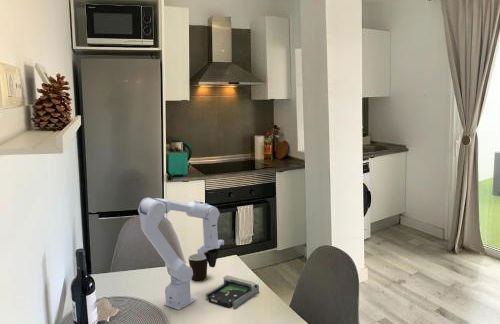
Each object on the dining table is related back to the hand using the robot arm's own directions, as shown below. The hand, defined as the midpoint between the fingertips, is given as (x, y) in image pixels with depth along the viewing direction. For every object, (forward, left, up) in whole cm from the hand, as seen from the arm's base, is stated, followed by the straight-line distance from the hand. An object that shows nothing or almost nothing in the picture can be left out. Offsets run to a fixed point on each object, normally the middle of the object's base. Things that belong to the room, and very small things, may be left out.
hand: (212, 266), depth 168 cm
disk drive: (-1, -10, -11) cm, 15 cm away
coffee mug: (+8, +14, -11) cm, 19 cm away
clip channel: (0, -10, -10) cm, 14 cm away
